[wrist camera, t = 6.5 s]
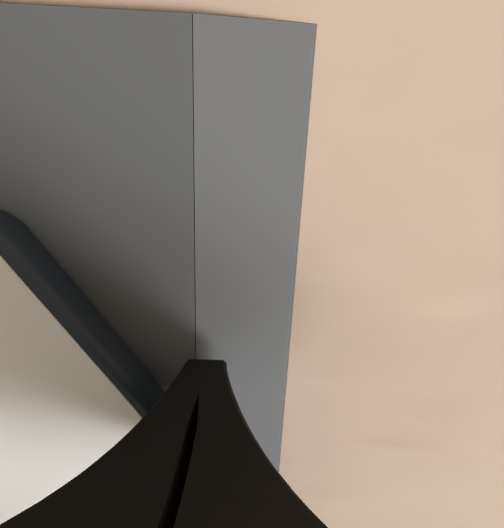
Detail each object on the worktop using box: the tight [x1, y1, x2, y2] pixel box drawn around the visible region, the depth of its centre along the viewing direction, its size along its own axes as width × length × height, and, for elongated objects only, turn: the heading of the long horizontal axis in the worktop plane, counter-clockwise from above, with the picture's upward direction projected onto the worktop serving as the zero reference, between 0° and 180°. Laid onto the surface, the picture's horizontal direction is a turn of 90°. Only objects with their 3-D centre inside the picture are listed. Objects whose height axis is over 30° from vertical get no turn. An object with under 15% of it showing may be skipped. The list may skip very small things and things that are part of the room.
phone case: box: [0, 211, 164, 524], centre depth 12 cm, size 9×2×16 cm
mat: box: [0, 3, 317, 473], centre depth 12 cm, size 20×18×1 cm
